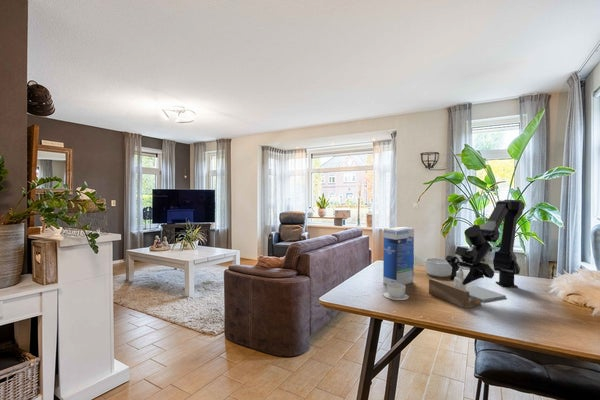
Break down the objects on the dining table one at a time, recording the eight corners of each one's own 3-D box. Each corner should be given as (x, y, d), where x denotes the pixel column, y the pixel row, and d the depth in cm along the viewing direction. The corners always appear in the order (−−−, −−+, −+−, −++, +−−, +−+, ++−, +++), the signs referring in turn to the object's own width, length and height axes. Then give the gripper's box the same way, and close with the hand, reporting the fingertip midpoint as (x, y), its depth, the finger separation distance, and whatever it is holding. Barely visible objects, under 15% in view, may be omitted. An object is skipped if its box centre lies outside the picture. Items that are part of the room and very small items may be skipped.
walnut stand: (442, 290, 127) (442, 276, 127) (480, 305, 110) (481, 289, 110) (428, 292, 125) (428, 278, 125) (466, 308, 108) (466, 292, 108)
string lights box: (401, 278, 145) (401, 226, 144) (414, 282, 139) (415, 228, 138) (382, 283, 138) (382, 228, 137) (395, 287, 131) (396, 230, 131)
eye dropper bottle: (453, 299, 117) (453, 269, 117) (453, 294, 122) (453, 266, 122) (465, 301, 115) (466, 270, 115) (465, 296, 120) (466, 267, 120)
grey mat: (476, 288, 131) (476, 285, 131) (505, 297, 119) (506, 295, 119) (454, 291, 126) (454, 289, 126) (482, 302, 114) (482, 299, 114)
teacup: (411, 302, 115) (411, 290, 115) (384, 300, 117) (384, 288, 116) (406, 293, 125) (406, 282, 125) (382, 292, 126) (382, 281, 126)
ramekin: (436, 278, 146) (437, 264, 146) (419, 271, 158) (419, 258, 158) (458, 276, 149) (459, 262, 149) (440, 269, 162) (440, 257, 162)
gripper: (448, 236, 128) (428, 263, 125) (489, 243, 111) (467, 275, 107) (462, 253, 131) (442, 280, 128) (503, 262, 114) (482, 294, 110)
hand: (457, 282), depth 118 cm, fingers closed on eye dropper bottle, 5 cm apart
